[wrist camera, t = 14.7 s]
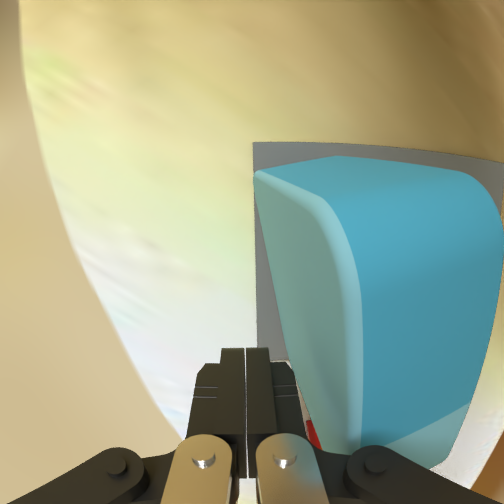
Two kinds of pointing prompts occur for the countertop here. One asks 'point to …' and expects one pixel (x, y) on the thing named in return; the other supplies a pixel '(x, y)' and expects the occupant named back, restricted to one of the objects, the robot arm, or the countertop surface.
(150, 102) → the countertop surface
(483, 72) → the countertop surface
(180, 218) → the countertop surface
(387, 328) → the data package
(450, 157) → the rubber mat
